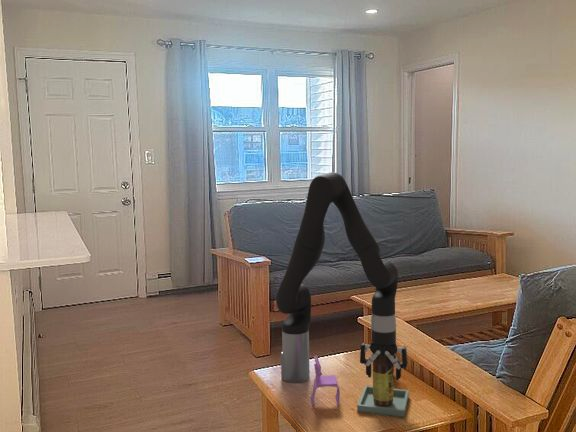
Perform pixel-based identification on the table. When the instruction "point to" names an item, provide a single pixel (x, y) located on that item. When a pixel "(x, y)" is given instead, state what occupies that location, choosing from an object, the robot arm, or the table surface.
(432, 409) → the table surface
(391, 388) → the sauce bottle
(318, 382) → the chair
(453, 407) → the table surface
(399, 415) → the tray
